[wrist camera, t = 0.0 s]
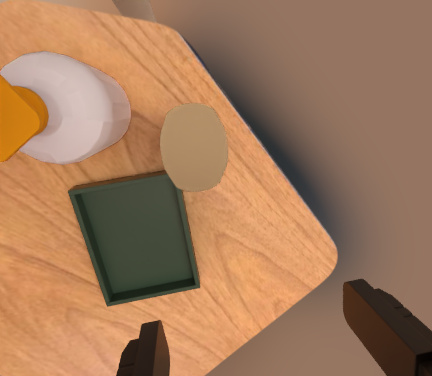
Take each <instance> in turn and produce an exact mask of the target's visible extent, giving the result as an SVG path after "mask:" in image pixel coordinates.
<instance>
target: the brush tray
mask: <svg viewBox="0 0 432 376" xmlns="http://www.w3.org/2000/svg"><path fill="white" fill-rule="evenodd" d="M68 193H69V196H70V199H71V202H72V205H73V208H74V211H75V214H76V217H77V220H78V222H79V225H80V228H81V231H82V234H83V237H84V240H85V243H86V246H87V249H88V252H89V255H90V258H91V261H92V264H93V267H94V270H95V273H96V275H97V278H98V281H99V284H100V287H101V290H102V293H103V296H104V299H105V302H106V305H107V307H108V306H112V305H117V304H122V303H127V302H132V301H137V300H142V299H147V298H152V297H157V296H162V295H167V294H172V293H177V292H182V291H187V290H192V289H197V288H200V278H199V273H198V268H197V263H196V258H195V253H194V247H193V242H192V237H191V232H190V227H189V222H188V217H187V212H186V207H185V202H184V197H183V192H182V190H181V189H179V188H177V187H176V186H175V184H174V183H173V181H172V180H171V178H170V177H169V175H168V174H167V172H166V170H164V171H159V172H153V173H147V174H141V175H135V176H129V177H123V178H117V179H112V180H106V181H100V182H94V183H88V184H82V185H76V186H74V187H73V188H71V189H70V190H69V191H68Z"/></svg>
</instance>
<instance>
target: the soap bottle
mask: <svg viewBox="0 0 432 376" xmlns="http://www.w3.org/2000/svg"><path fill="white" fill-rule="evenodd" d="M130 120H131V109H130V102H129V100H128V98H127V95H126V93H125V91H124V89H123V88H122V87H121V86H120V85H119V84H118V82H117V81H116V80H115V79H114V78H112V77H111V76H109V75H107V74H106V73H104V72H102V71H101V70H98V69H96V68H94V67H91V66H89V65H87V64H85V63H82V62H80V61H78V60H76V59H73V58H71V57H69V56H66V55H62V54H57V53H52V52H48V51H41V52H34V53H28V54H24V55H22V56H20V57H18V58H17V59H15V60H13V61H12V62H10V63H8V64H7V65H5V66H4V67H3V68H2V70H1V71H0V162H4V161H7V160H8V159H10V158H11V157H12V156H13V155H14V154H15V153H16V152H17V151H18V150H19V151H21V152H23V153H25V154H27V155H29V156H31V157H33V158H35V159H37V160H40V161H43V162H48V163H55V164H61V165H64V164H70V163H76V162H81V161H83V160H85V159H87V158H89V157H90V156H92V155H94V154H96V153H98V152H100V151H102V150H104V149H105V148H107V147H109V146H111V145H113V144H114V143H116V142H118V141H119V140H120V139H121V138H122V137H123V135H124V134H125V133H126V132H127V130H128V127H129V123H130Z"/></svg>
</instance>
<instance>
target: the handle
mask: <svg viewBox="0 0 432 376" xmlns="http://www.w3.org/2000/svg"><path fill="white" fill-rule="evenodd" d="M160 149H161V156H162V162H163V166H164V168H165V170H166V172H167V174H168V175H169V177H170V178H171V180H172V181H173V183H174V184H175V186H176V187H177V188H179V189H181V190H184V191H188V192H200V191H206V190H208V189H211V188H213V187H215V186H216V185H217V184H219V183H220V181H221V179H222V176H223V174H224V171H225V168H226V165H227V162H228V143H227V135H226V131H225V129H224V126H223V124H222V122H221V121H220V119H219V117H218V115H217V114H216V112H215V110H214V109H213V108H211V107H209V106H207V105H205V104H200V103H187V104H182V105H179V106H176V107H175V108H173V109H172V110H170V111H169V112H168V113H167V115H166V118H165V121H164V124H163V127H162V130H161V135H160Z"/></svg>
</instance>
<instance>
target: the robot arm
mask: <svg viewBox="0 0 432 376" xmlns="http://www.w3.org/2000/svg"><path fill="white" fill-rule="evenodd" d="M343 312H344V316H345V319H346V321H347V323H348V325H349V326H350V328H351V329H352V330H353V331H354V333H355V334H356V335H357V337H358V338H359V339H360V341H361V342H362V343H363V345H364V346H365V347H366V349H367V350H368V351H369V353H370V354H371V355H372V357H373V358H374V359H375V361H376V362H377V363H378V365H379V366H380V367H381V369H382V370H383V371H384V373H385V374H386V375H387V376H432V331H431V330H430V329H429V328H428V327H427V326H425V325H424V324H423V323H422V322H421V321H420V320H419V319H418V318H416V317H415V316H413V315H412V313H411V312H410V311H409V310H408V309H406V308H404V307H403V305H402V304H401V303H400V302H399V301H398V300H396V299H395V298H394V297H393V296H392V295H390V294H388V293H386V292H384V291H383V290H381V289H373V287H371V286H370V285H369V284H368V283H367V282H366V281H365V280H364V279H358V280H353V281H348V282H345V283H344V285H343ZM169 371H170V355H169V348H168V344H167V340H166V337H165V333H164V329H163V325H162V322H161V320H158V321H153V322H148V323H144V324H142V326H141V330H140V335H139V339H135V340H130V341H129V343H128V345H127V346H126V348H125V349H124V351H123V352H122V355H121V359H120V363H119V369H118V371H117V375H116V376H169Z"/></svg>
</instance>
